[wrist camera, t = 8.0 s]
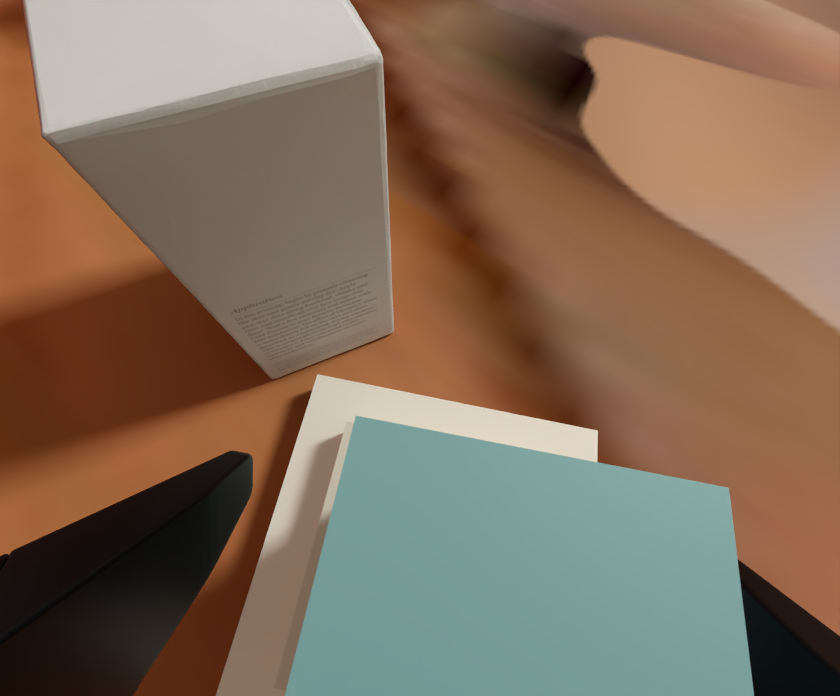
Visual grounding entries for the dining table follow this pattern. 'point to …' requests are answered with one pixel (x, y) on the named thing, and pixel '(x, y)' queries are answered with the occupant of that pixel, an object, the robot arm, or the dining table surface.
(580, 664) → the pillar
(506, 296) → the dining table surface
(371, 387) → the plinth
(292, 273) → the small box
